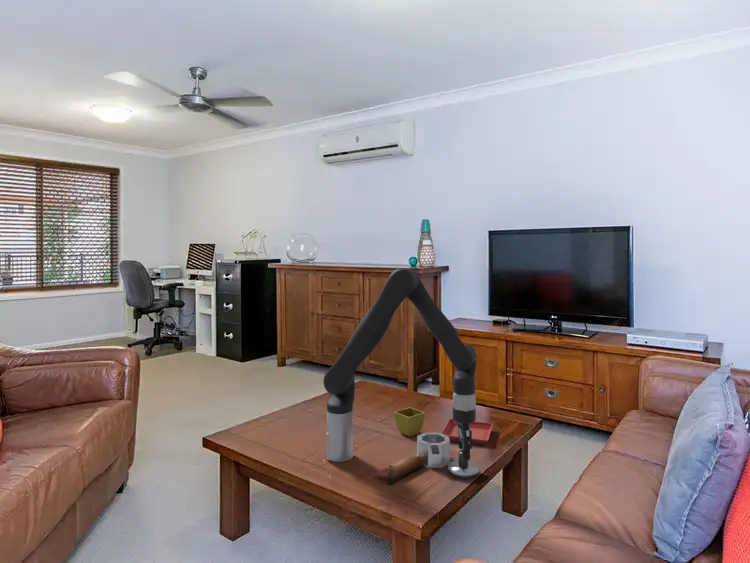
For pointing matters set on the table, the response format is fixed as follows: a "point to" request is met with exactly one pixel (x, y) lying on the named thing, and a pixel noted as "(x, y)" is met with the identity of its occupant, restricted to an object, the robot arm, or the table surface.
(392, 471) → the sunglasses case
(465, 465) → the lid
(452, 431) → the plant saucer
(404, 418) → the flower pot
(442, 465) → the pot
